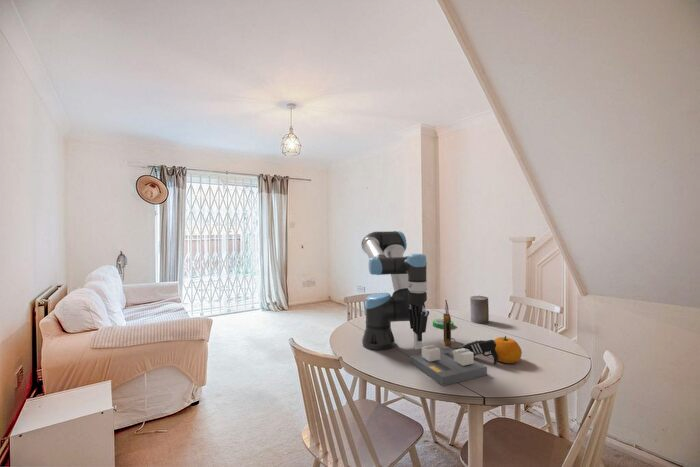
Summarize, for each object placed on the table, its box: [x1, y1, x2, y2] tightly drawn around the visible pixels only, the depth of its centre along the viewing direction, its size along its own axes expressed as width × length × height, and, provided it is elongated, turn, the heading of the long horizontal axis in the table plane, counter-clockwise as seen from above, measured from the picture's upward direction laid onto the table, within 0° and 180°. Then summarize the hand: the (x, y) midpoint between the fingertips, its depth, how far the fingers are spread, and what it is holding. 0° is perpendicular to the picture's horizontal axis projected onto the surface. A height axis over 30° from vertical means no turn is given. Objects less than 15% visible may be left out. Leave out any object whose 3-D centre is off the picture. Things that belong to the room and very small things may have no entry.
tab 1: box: [421, 344, 441, 362], centre depth 125 cm, size 5×5×4 cm
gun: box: [461, 339, 499, 365], centre depth 131 cm, size 3×16×10 cm, turn 51°
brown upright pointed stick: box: [442, 299, 466, 350], centre depth 150 cm, size 15×10×20 cm
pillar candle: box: [469, 295, 490, 325], centre depth 184 cm, size 10×10×15 cm
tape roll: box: [432, 318, 455, 330], centre depth 177 cm, size 11×11×3 cm
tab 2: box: [453, 347, 474, 366], centre depth 121 cm, size 5×5×4 cm
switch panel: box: [409, 347, 488, 387], centre depth 123 cm, size 20×20×3 cm
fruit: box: [491, 335, 523, 364], centre depth 131 cm, size 12×12×10 cm
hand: (418, 347), depth 133 cm, fingers closed
